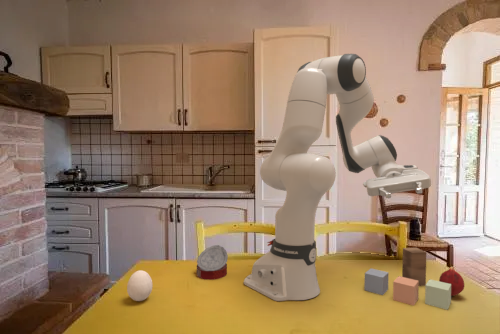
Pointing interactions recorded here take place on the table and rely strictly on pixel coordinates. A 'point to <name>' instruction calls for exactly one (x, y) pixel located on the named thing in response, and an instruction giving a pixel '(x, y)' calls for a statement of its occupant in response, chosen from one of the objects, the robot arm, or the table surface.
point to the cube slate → (376, 281)
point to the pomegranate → (453, 281)
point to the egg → (139, 285)
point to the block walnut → (414, 265)
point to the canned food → (212, 263)
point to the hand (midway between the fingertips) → (404, 193)
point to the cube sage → (438, 294)
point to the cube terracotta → (405, 290)
